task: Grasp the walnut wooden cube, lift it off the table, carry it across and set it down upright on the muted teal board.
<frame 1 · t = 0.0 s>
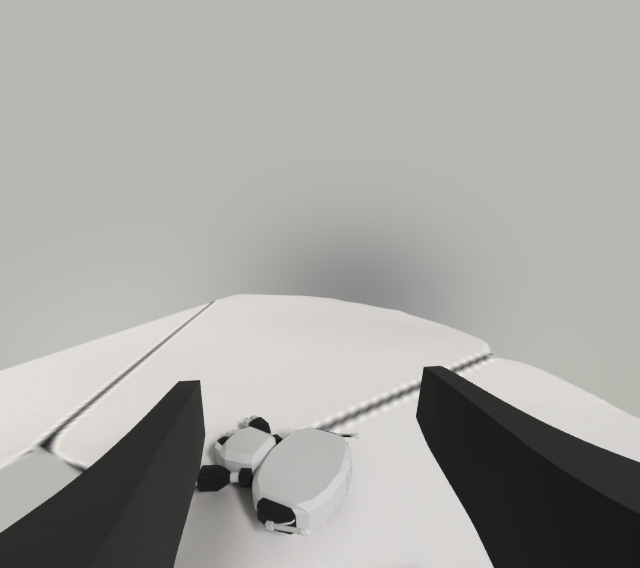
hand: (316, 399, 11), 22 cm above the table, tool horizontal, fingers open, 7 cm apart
robot toy: (276, 486, 34), on the table
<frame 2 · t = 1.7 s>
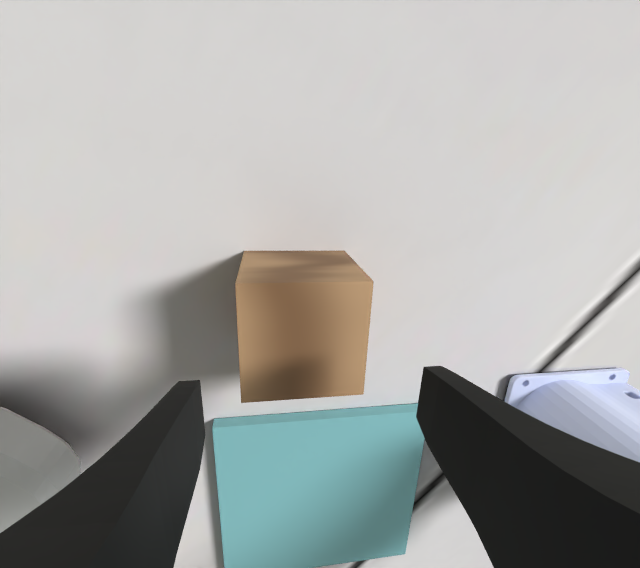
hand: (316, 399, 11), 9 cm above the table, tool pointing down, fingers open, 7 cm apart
walnut cube: (294, 297, 19), on the table
teal board: (320, 489, 24), on the table
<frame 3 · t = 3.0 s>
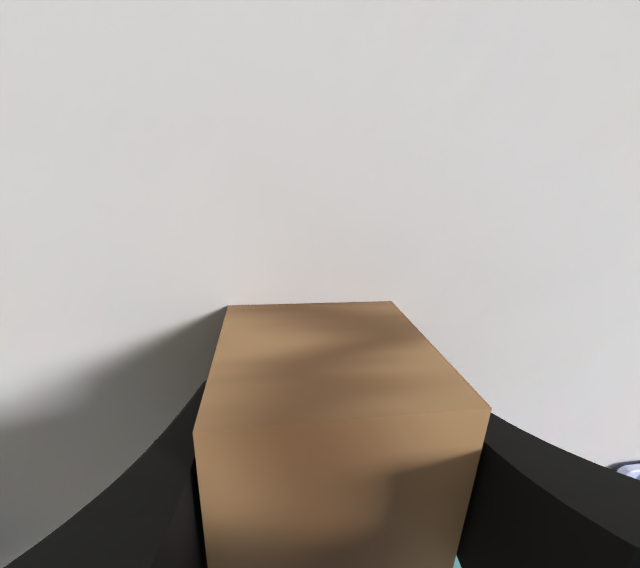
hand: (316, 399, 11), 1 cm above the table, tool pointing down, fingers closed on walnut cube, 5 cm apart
walnut cube: (310, 374, 12), on the table, touching gripper
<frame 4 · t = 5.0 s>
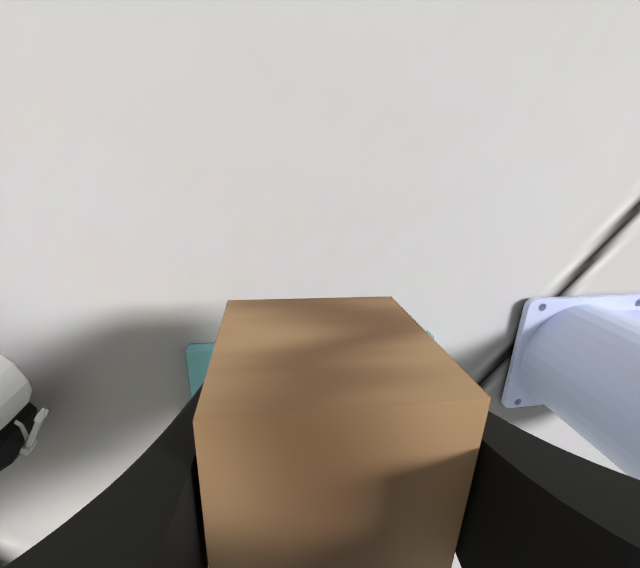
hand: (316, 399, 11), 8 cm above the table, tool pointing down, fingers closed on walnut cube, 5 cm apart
walnut cube: (310, 369, 12), point 7 cm above the table, touching gripper
teal board: (313, 433, 22), on the table
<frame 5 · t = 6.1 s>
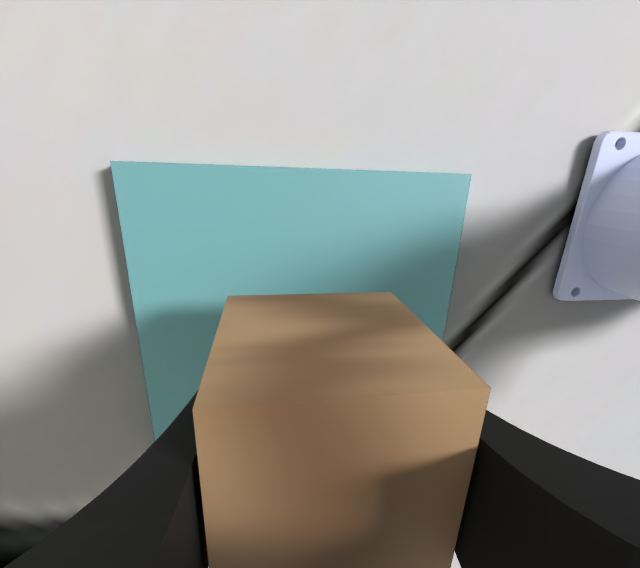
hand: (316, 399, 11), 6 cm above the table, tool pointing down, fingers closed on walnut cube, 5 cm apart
walnut cube: (310, 365, 12), point 4 cm above the table, touching gripper
teal board: (300, 322, 16), on the table
when the fingers open (4 cm above the table, at t = 7.0 s): walnut cube drops 1 cm, resting on teal board.
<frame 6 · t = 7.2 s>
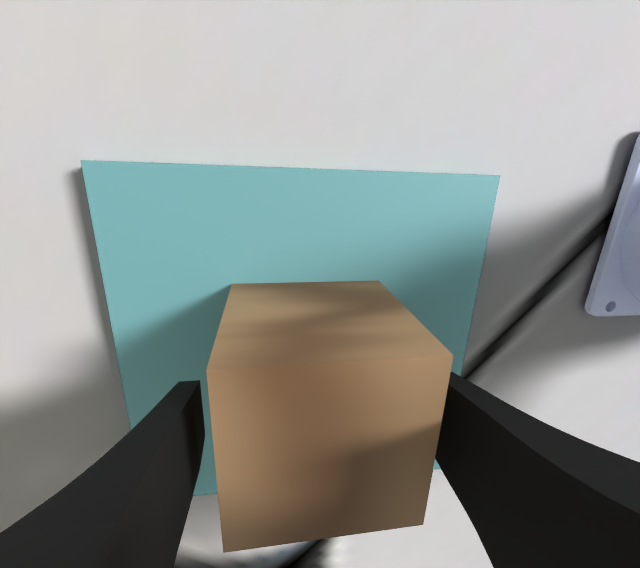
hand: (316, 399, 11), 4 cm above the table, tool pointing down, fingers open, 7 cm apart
walnut cube: (306, 347, 13), point 1 cm above the table, touching teal board
teal board: (304, 343, 14), on the table
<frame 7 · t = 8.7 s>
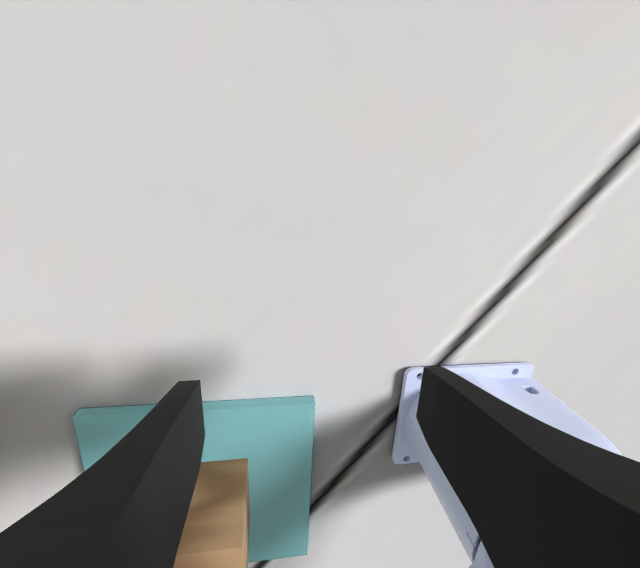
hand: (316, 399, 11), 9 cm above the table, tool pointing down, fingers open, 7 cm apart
walnut cube: (206, 493, 22), point 1 cm above the table, touching teal board
teal board: (209, 485, 23), on the table
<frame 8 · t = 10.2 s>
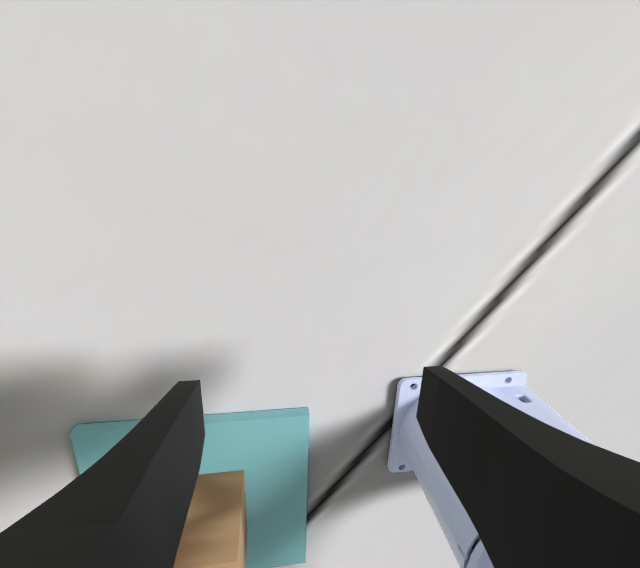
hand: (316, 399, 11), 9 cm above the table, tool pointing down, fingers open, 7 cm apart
walnut cube: (204, 505, 23), point 1 cm above the table, touching teal board
teal board: (206, 497, 23), on the table
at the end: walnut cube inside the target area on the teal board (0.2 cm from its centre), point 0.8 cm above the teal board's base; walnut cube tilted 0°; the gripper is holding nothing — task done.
